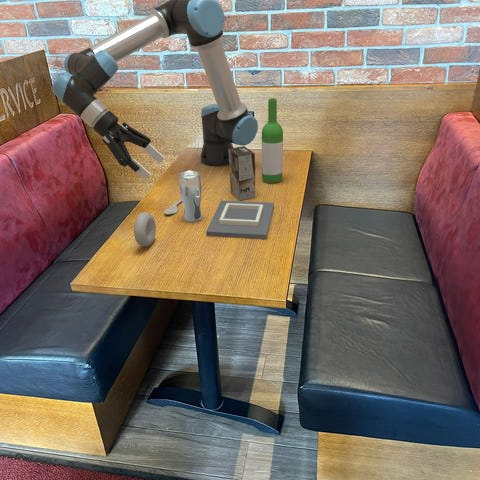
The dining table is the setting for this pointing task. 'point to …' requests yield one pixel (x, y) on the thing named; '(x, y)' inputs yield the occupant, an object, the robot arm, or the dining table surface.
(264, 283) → the dining table surface
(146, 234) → the donut
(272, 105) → the wine bottle
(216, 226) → the grey square plate
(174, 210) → the spoon
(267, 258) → the dining table surface
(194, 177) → the chrome tumbler
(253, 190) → the coffee box
